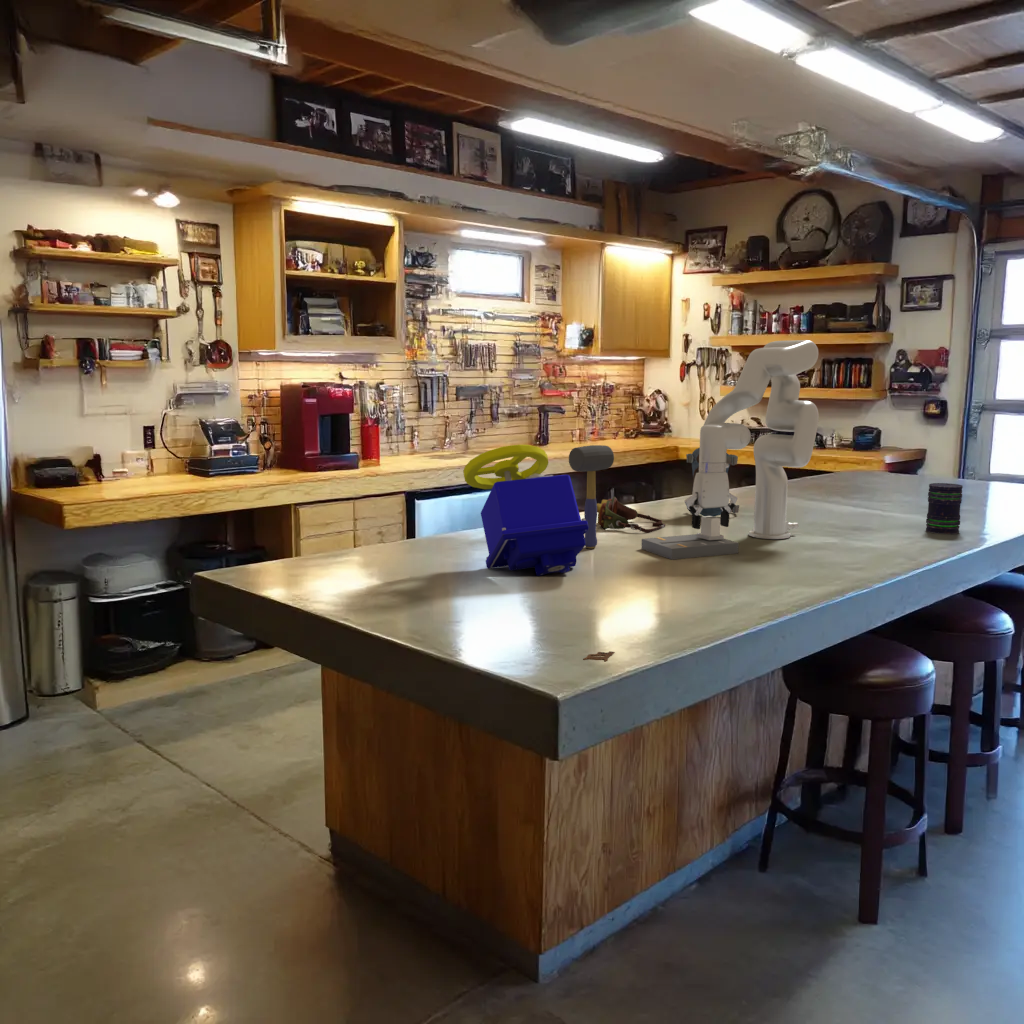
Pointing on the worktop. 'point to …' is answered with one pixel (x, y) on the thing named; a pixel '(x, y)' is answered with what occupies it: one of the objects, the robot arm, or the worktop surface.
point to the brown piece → (605, 658)
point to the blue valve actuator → (527, 512)
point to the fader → (710, 528)
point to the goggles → (622, 516)
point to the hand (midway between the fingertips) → (710, 527)
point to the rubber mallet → (591, 481)
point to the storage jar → (944, 508)
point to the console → (688, 546)
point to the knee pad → (694, 460)
